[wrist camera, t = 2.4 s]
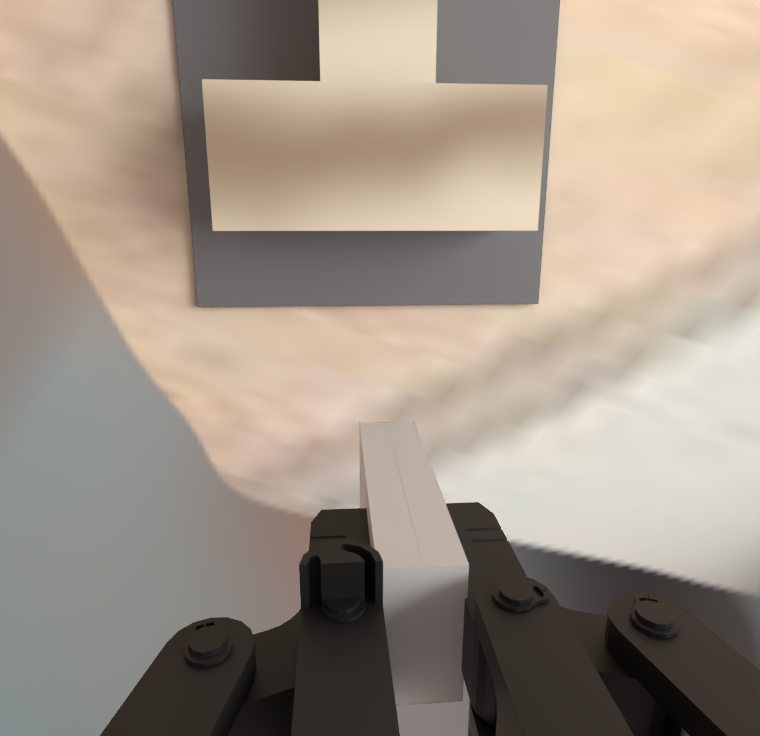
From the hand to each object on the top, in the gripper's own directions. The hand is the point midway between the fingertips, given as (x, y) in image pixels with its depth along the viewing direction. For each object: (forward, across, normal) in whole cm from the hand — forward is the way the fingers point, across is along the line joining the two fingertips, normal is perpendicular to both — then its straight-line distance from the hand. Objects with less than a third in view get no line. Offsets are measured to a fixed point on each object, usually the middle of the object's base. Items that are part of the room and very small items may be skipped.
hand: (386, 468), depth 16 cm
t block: (+12, 0, -13) cm, 18 cm away
